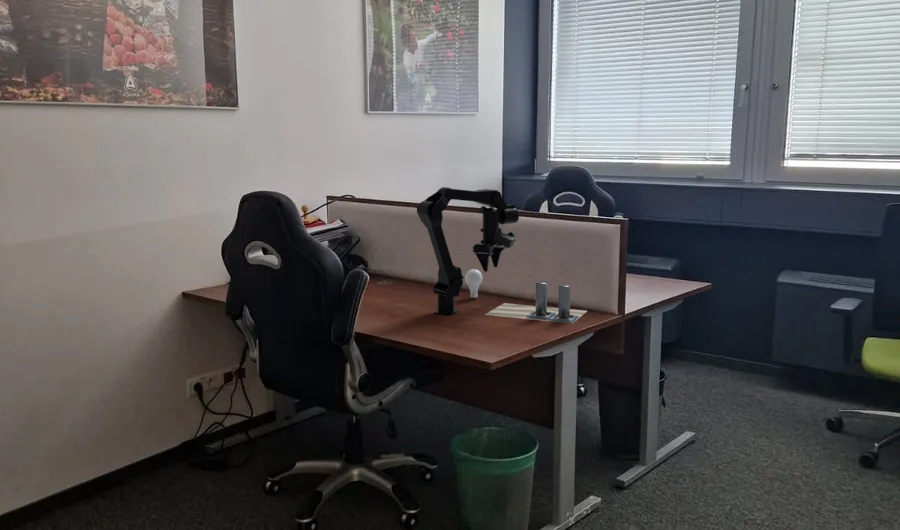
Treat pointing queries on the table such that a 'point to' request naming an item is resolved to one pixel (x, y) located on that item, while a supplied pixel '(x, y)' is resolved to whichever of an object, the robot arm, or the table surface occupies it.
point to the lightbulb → (473, 281)
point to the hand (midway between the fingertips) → (490, 269)
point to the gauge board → (533, 313)
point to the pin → (541, 299)
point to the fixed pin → (564, 302)
